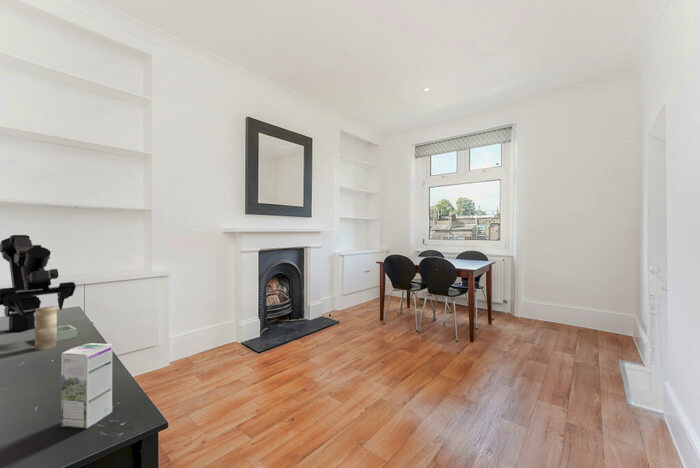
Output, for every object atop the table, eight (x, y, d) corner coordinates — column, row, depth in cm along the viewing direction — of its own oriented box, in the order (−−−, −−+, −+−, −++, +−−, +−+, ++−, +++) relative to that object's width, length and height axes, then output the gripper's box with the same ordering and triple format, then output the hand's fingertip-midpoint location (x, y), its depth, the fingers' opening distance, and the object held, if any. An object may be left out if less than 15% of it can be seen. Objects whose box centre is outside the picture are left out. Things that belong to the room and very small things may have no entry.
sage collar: (37, 339, 105) (37, 330, 105) (69, 332, 112) (69, 324, 112) (43, 343, 100) (43, 335, 101) (76, 336, 108) (77, 328, 108)
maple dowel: (30, 350, 95) (30, 309, 95) (45, 344, 100) (46, 306, 100) (46, 350, 95) (46, 309, 95) (60, 344, 100) (61, 306, 100)
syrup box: (113, 411, 61) (114, 342, 62) (85, 430, 56) (86, 353, 56) (88, 410, 62) (89, 341, 62) (58, 428, 56) (59, 352, 56)
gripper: (-2, 264, 95) (4, 301, 89) (74, 260, 111) (84, 292, 105) (-7, 286, 100) (-1, 323, 93) (67, 279, 115) (76, 311, 109)
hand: (42, 311), depth 100 cm, fingers open, 9 cm apart
